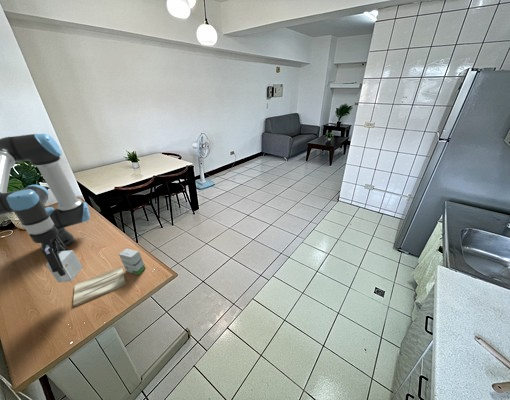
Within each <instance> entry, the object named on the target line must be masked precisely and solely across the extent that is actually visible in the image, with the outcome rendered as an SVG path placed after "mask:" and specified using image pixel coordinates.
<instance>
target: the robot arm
mask: <svg viewBox="0 0 510 400" xmlns="http://www.w3.org/2000/svg"><path fill="white" fill-rule="evenodd" d="M62 154H63V153H62V150H61V149H60V146H59V144H58V143H57V141H56V140H55V139H54V137H52V136H51V135H50V134H49V133H33V134H32V133H31V134H21V135H14V136H6V137H5V136H4V137H2V138H0V215H5V214H9V213H14V214H15V216H16V217H17V219H18V220H19V222H20V223H21V225H22V227H21V228H22V229H25V230H26V232H27V233H28V234H29V237H30V238H31V240H32V242H34V243H35V244H40V248H41V252H42V254H43V255H44V257H45V259H46V260H47V263H49V265H50V267H51V269H52V272H57V273H58V275H59V276H60V278H61V280H62V281H66V280H68V279H71V276H70V275H69V273H68V271H67V270H66V268H65V267H64V266H63V265H62V263H61V260H60V257H59V255H58V252H59V251H69V249H68V246H71V244H73V243H74V241H75V236H74V235H73V234H72V233H70V231H68V230H67V229H66V228H67V227H70V226H75V225H78V224H83V223H85V222H89V220H90V219H91V215H90V208H89V205H88V203H87V202H86V201H83V199H80V198H78V197H77V195H76V194H75V191H74V189H73V188H72V186H71V184H70V182H69V179H68V178H67V176H66V174H65V171H64V170H63V169H62V167H61V165H60V161H61V157H62ZM27 161H29V163H30V164H31V166H34V167H37V169H38V170H39V172H40V175H41V176H42V177H43V179H44V182H45V183H46V185H47V187H48V188H49V189H50V192H51V193H52V194H53V196H54V198H55V200H56V201H57V203H58V205H57V207H56V208H54V207H53V206H48V207H45V206H46V203H47V201H48V199H49V194H50V193H49V190H48V188H46V187H44V186H43V185H41V184H31V185H28V186H26V187H24V188H23V189H17V190H13V191H8V186H9V180H10V175H11V168H13V167H14V166H15V164H16V163H20V162H27Z"/></svg>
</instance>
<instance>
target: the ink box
mask: <svg viewBox="0 0 510 400" xmlns="http://www.w3.org/2000/svg"><path fill="white" fill-rule="evenodd" d="M118 256H119V259H120V260H121V263H122V265H123V268H124V269H125V272H126V273H127V272H128V273H130V274H134V275H138V276H139V275H141V274H142V273H143V272H144V271H145V270H146V266H145V263H144V261H143V258H142V256H141V253H140V251H139V250H135V249H130V248H125V249H123V250H122V251H121V252H119V254H118Z"/></svg>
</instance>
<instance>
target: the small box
mask: <svg viewBox="0 0 510 400" xmlns="http://www.w3.org/2000/svg"><path fill="white" fill-rule="evenodd" d="M58 255H59V257H60V260H61V263H62V265H63V266H64V267H65V268H66V270H67V271H68V273H69V275H70V276H71V279H68V280H66V281H62V280H61V278H60V276H59V275H58V273H57V272H52V269H51V267H50V265H49V263H48V262H47V263H46V264H45V266H46V267H47V269H49V272H50V273H51V275H52V276H53V277H54V278H55V280H56V281H57V283H66V282H72V281H73V280H74V279H75V278H76V277H77V275H78V274H79V273H80V272H81V270H82V269H83V268H84V267H83V265H82V264H81V262H80V260H79V258H78V257H77V255H76V253H75V251H74V250H73V249H70V250H69V249H68V251H59V252H58Z"/></svg>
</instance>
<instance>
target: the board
mask: <svg viewBox="0 0 510 400" xmlns="http://www.w3.org/2000/svg"><path fill="white" fill-rule="evenodd" d="M123 286H126V277H125V271H124V266H119V267H116V268H114V269H112V270H109V271H107V272H104V273H101V274H99V275H96V276H93V277H91V278H89V279H85V280H83V281H81V282H78V283H76V284H74V291H73V301H72V306H73V308H75V307H77V306H79V305H81V304H83V303H86V302H89V301H91V300H93V299H95V298H98V297H100V296H103V295H105V294H108V293H109V292H112V291H114V290H117V289H119V288H122V287H123Z"/></svg>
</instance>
